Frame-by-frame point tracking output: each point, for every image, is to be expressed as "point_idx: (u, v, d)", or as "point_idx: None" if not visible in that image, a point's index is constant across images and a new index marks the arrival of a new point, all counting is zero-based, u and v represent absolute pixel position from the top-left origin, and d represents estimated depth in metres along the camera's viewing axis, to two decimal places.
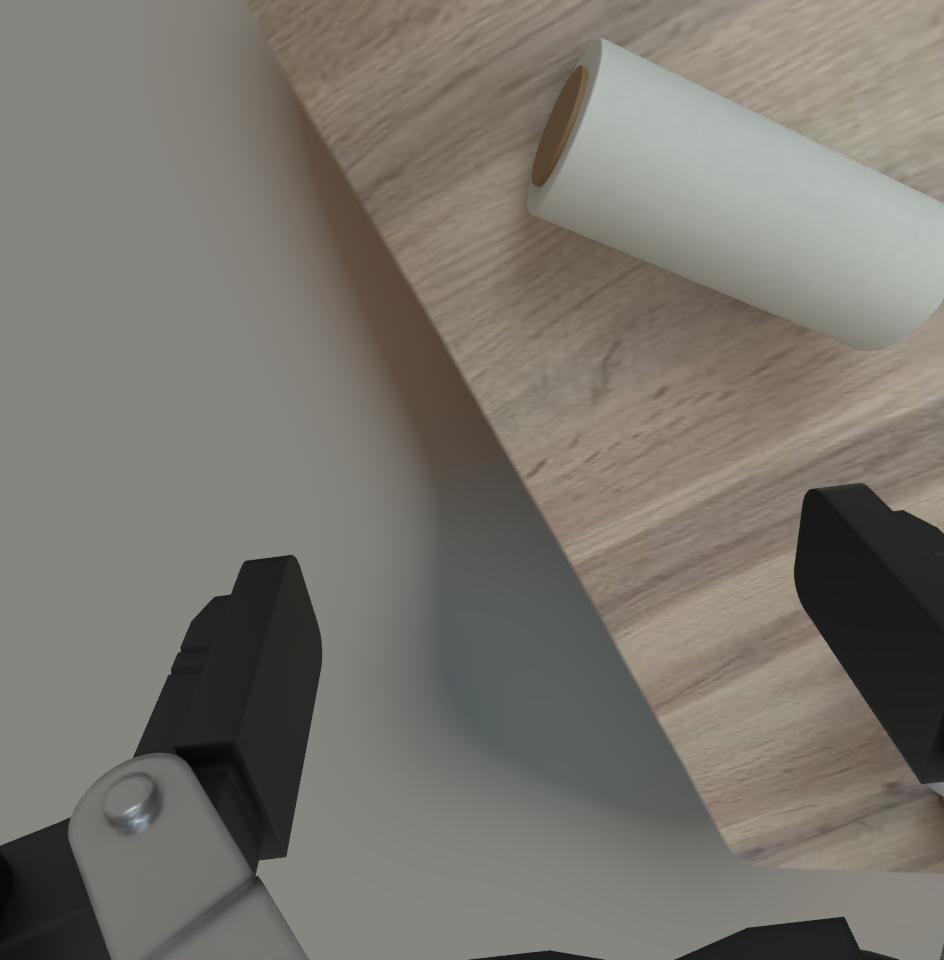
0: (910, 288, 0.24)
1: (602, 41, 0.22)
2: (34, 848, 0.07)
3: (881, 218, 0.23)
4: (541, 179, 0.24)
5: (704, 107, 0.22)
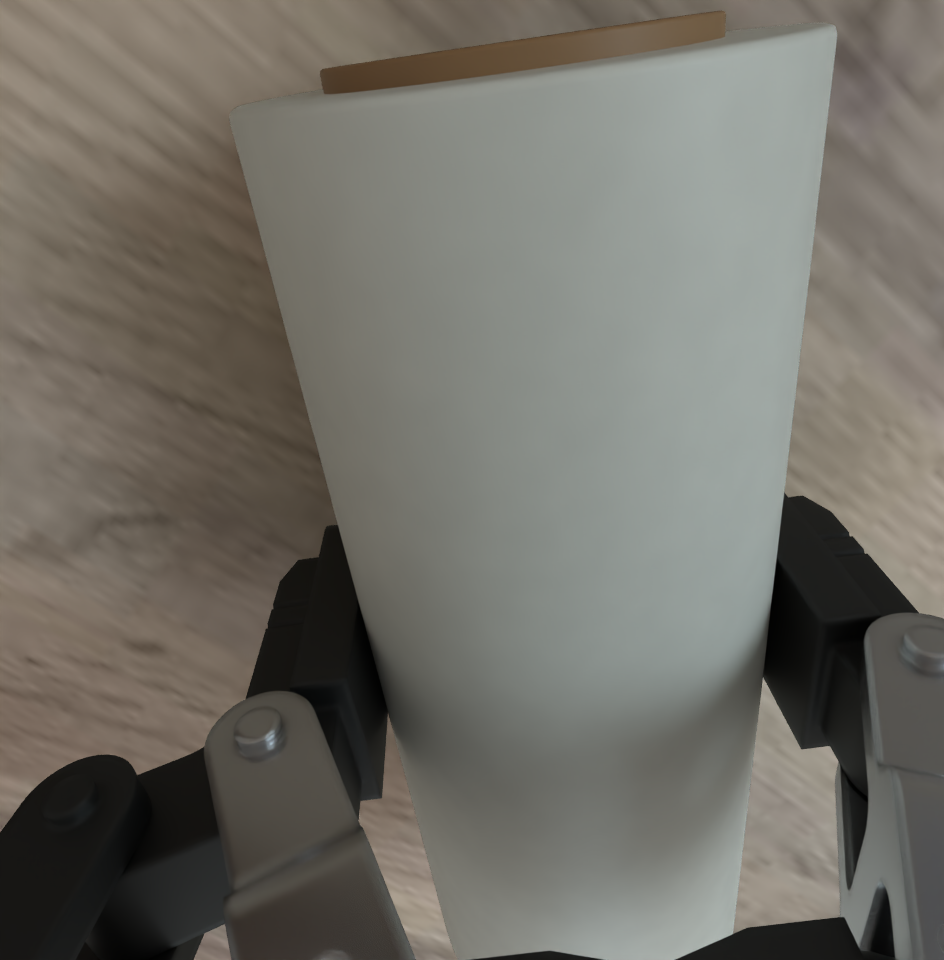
0: None
1: None
2: (164, 779, 0.08)
3: (704, 891, 0.10)
4: (344, 72, 0.06)
5: (783, 441, 0.07)
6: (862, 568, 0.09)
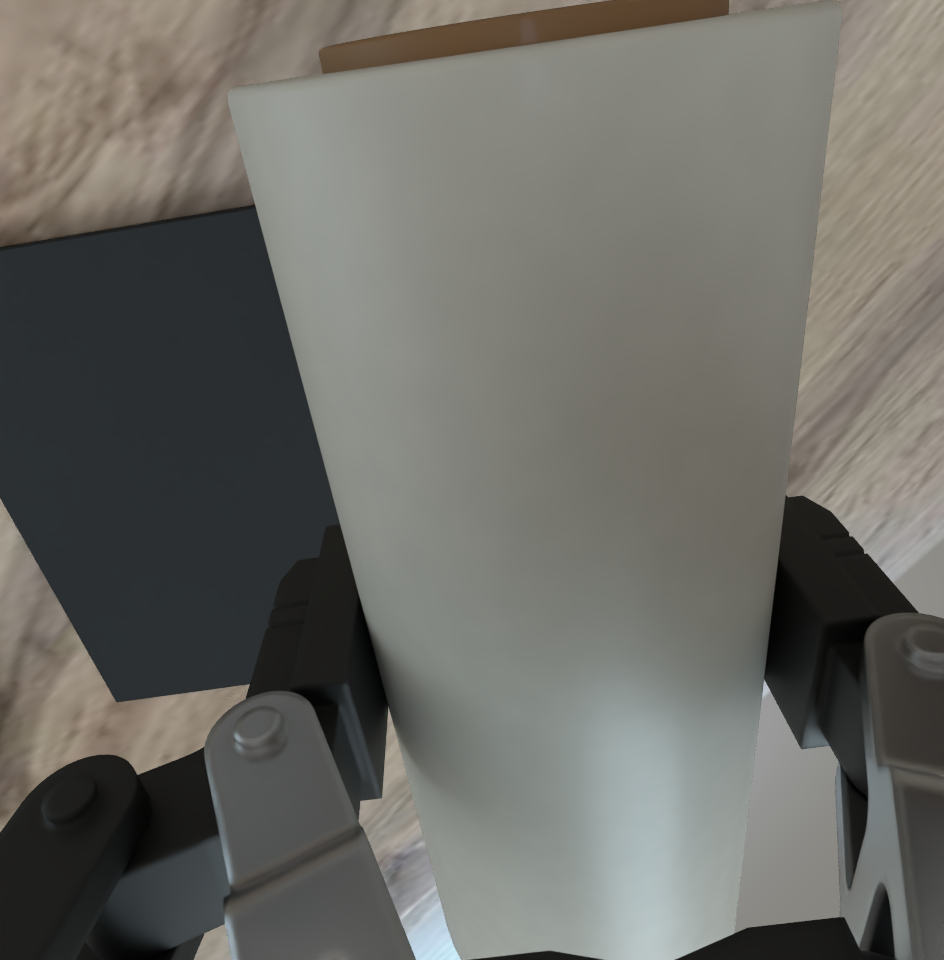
0: None
1: None
2: (164, 779, 0.08)
3: (707, 884, 0.10)
4: (343, 50, 0.06)
5: (787, 426, 0.07)
6: (862, 568, 0.09)
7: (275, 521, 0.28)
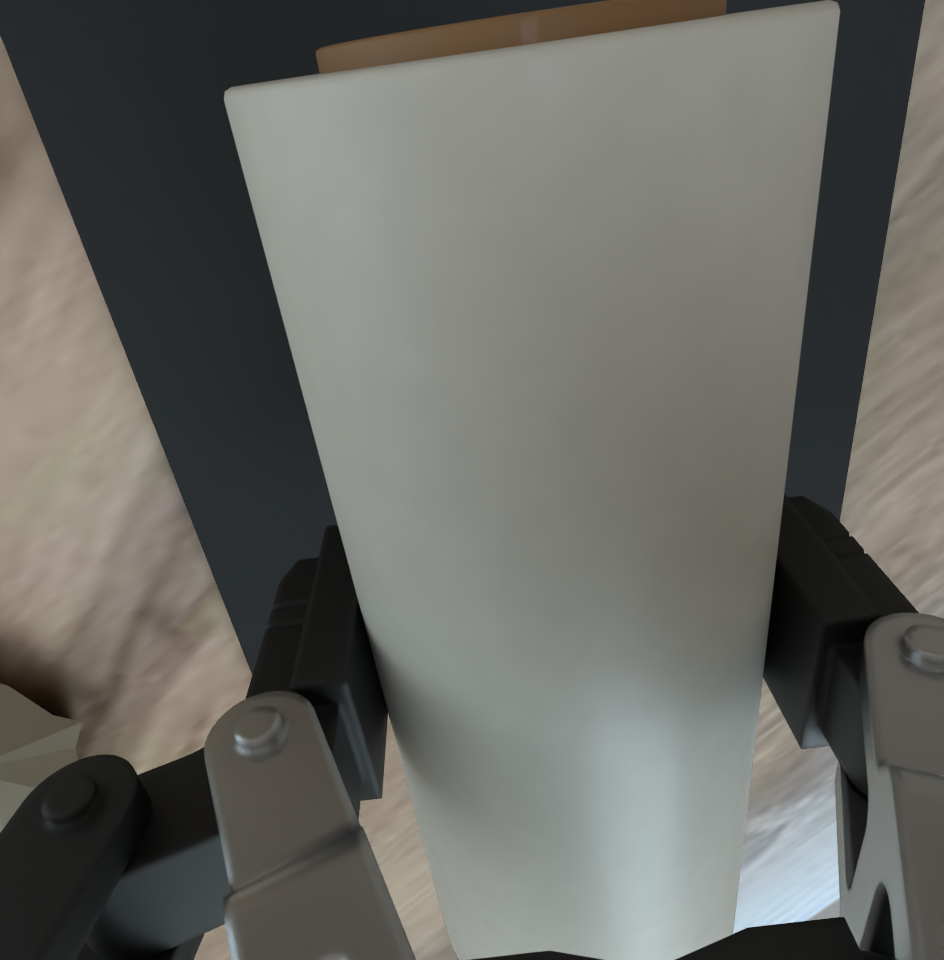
0: None
1: None
2: (164, 778, 0.08)
3: (705, 885, 0.10)
4: (339, 50, 0.06)
5: (784, 427, 0.07)
6: (862, 568, 0.09)
7: None
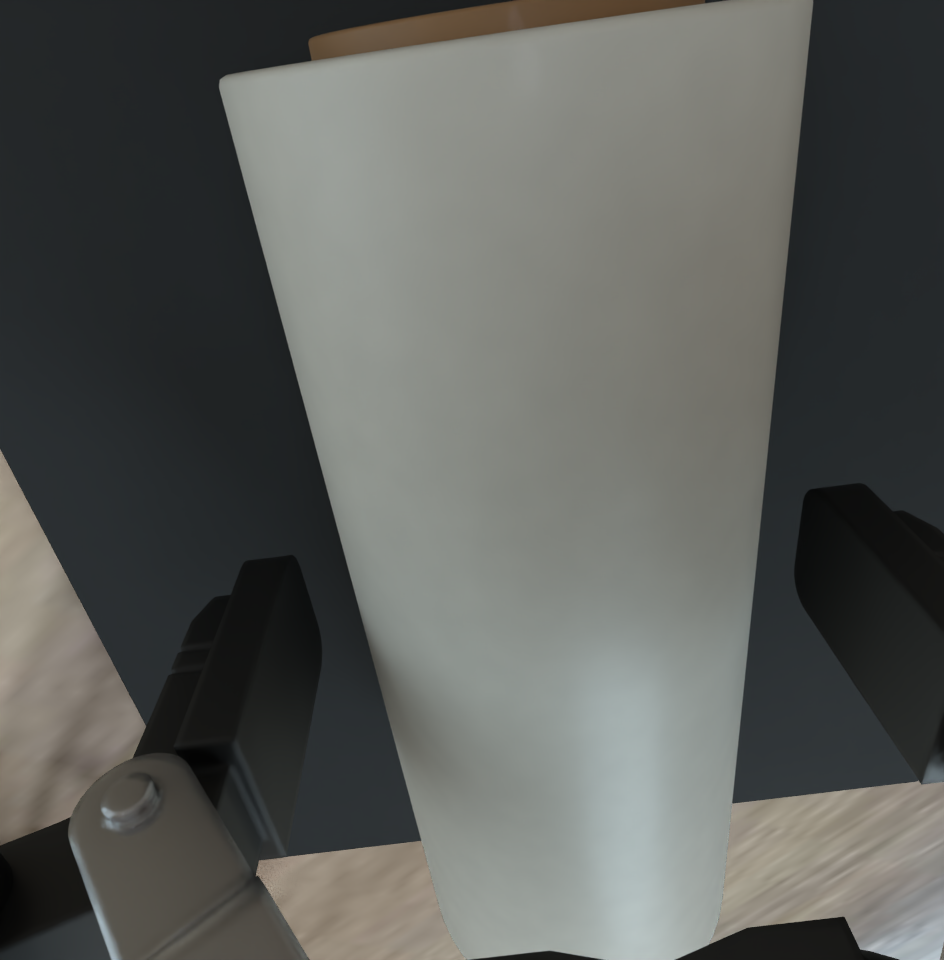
0: None
1: None
2: (33, 848, 0.07)
3: (686, 864, 0.10)
4: (327, 39, 0.06)
5: (759, 411, 0.07)
6: None
7: None
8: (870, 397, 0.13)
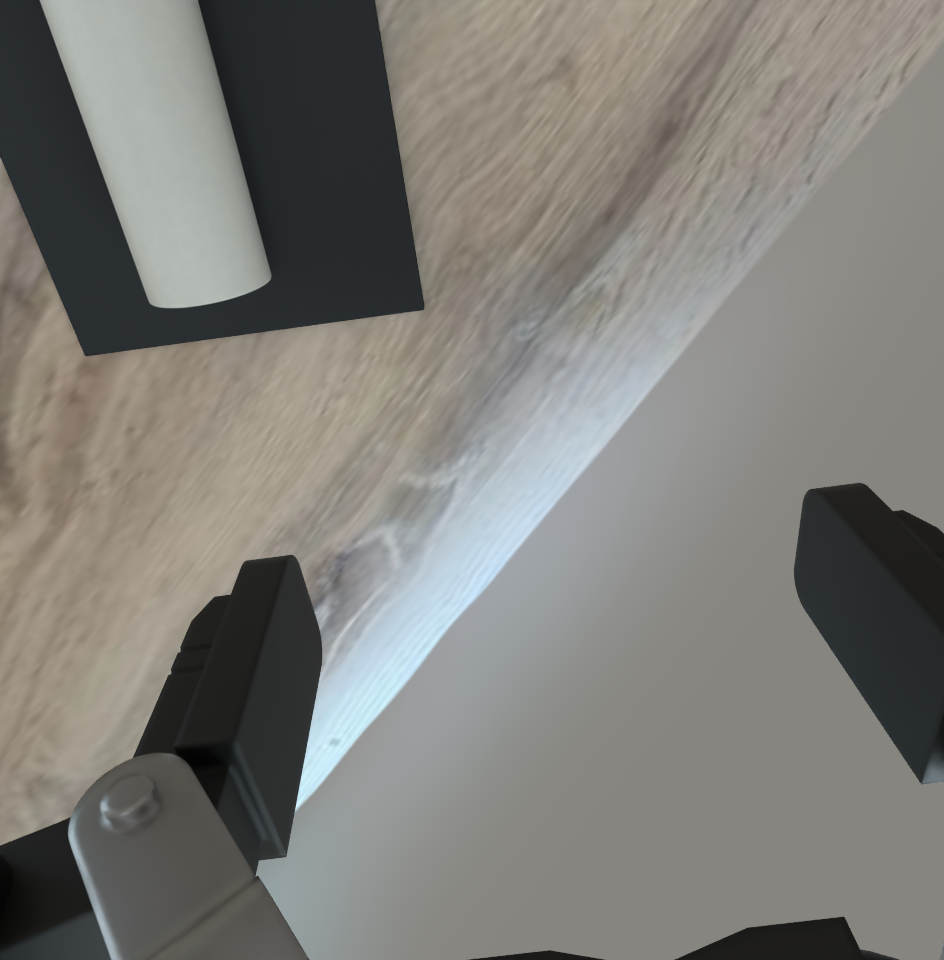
0: (171, 276, 0.30)
1: None
2: (33, 848, 0.07)
3: (193, 217, 0.29)
4: None
5: (157, 16, 0.26)
6: None
7: None
8: (317, 74, 0.32)
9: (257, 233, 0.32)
